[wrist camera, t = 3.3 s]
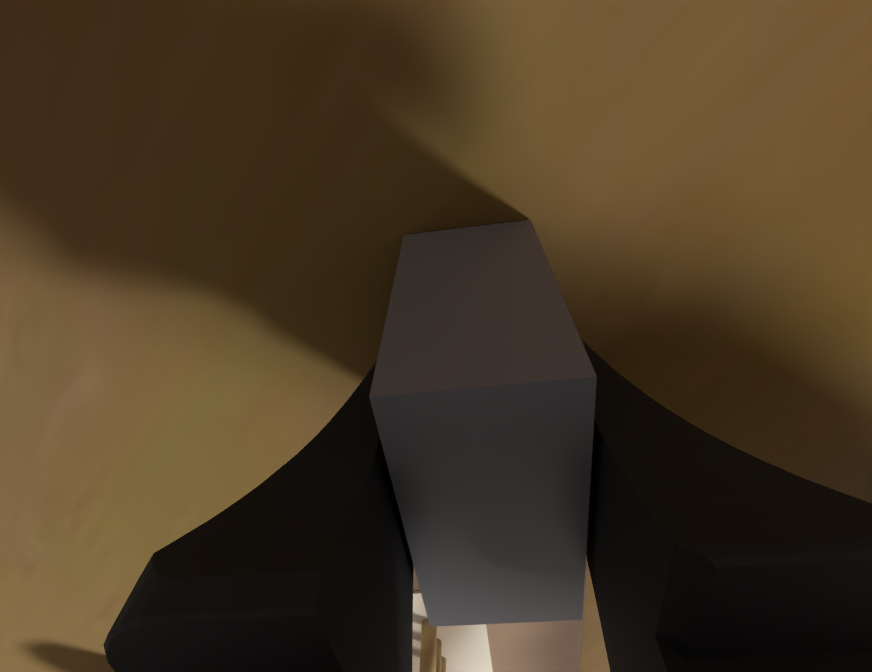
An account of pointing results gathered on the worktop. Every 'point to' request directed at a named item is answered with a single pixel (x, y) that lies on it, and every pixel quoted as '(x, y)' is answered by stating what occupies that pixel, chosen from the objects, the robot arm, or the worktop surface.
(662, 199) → the worktop surface
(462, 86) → the worktop surface
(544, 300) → the block
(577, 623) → the board
